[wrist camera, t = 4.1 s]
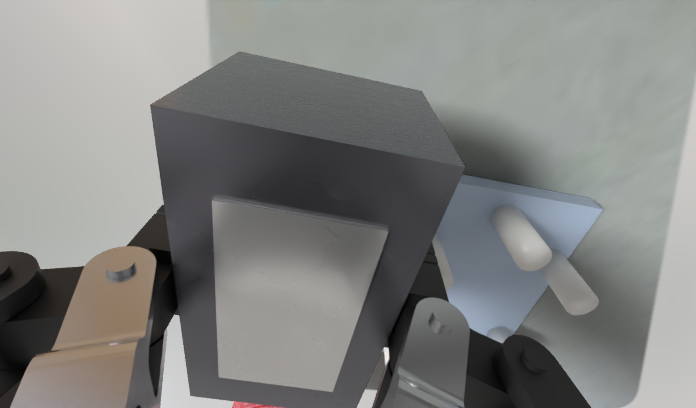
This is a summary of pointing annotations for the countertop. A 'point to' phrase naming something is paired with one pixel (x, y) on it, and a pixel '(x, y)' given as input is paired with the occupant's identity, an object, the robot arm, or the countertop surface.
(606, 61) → the countertop surface
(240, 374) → the drive
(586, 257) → the countertop surface
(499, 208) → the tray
